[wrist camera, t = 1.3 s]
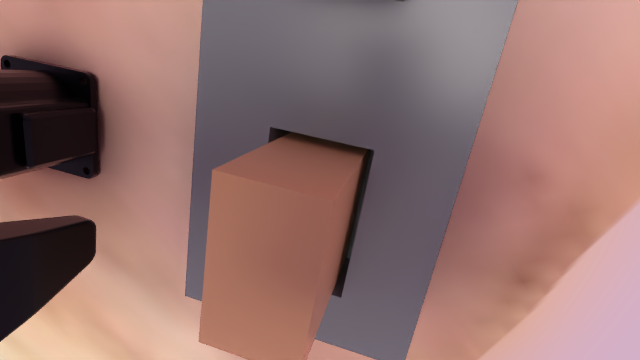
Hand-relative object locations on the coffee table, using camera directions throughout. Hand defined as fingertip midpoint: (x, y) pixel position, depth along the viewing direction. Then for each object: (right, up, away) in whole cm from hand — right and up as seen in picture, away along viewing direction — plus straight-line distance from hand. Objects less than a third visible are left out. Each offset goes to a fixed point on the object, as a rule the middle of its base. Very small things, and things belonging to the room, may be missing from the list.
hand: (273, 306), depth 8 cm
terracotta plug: (+1, +2, +11) cm, 11 cm away
